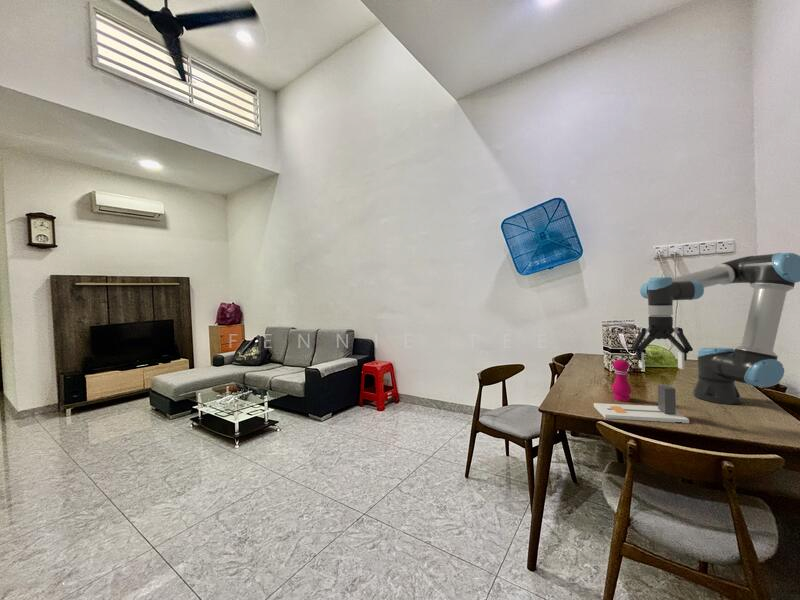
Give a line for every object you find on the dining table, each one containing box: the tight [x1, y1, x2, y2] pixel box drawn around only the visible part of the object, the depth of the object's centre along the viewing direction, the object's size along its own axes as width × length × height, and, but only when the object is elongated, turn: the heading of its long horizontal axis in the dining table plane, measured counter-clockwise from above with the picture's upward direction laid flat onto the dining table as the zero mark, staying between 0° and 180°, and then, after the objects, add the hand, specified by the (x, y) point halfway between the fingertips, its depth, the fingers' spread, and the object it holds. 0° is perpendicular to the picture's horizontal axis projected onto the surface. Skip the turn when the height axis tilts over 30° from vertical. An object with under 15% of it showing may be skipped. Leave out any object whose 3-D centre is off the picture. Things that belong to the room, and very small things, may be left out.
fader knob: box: [657, 384, 677, 414], centre depth 125 cm, size 4×5×10 cm
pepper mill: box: [611, 356, 632, 402], centre depth 145 cm, size 7×7×20 cm
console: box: [593, 402, 690, 424], centre depth 128 cm, size 28×13×2 cm, turn 75°
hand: (661, 368), depth 126 cm, fingers open, 13 cm apart
